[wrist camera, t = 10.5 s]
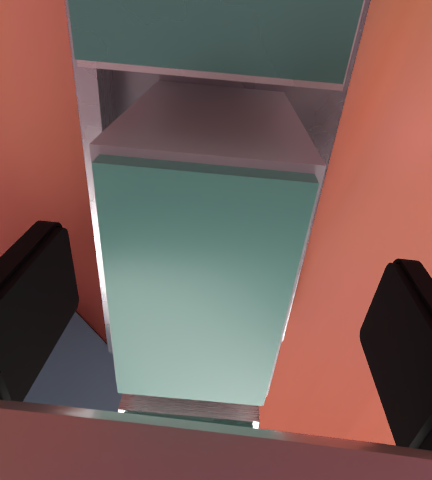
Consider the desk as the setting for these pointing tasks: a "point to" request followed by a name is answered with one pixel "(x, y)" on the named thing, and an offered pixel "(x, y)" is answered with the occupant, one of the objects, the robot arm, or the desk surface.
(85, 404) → the data package
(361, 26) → the rail
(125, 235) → the block
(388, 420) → the robot arm
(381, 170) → the desk surface
